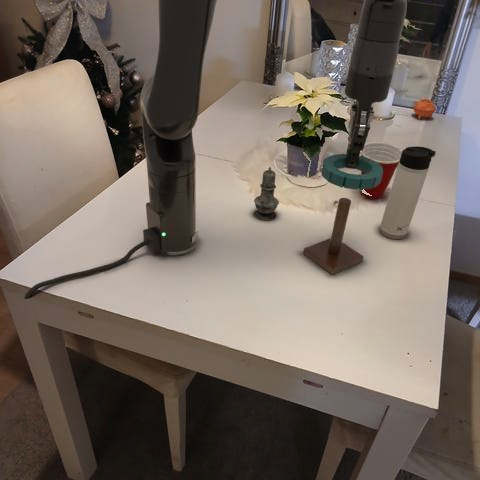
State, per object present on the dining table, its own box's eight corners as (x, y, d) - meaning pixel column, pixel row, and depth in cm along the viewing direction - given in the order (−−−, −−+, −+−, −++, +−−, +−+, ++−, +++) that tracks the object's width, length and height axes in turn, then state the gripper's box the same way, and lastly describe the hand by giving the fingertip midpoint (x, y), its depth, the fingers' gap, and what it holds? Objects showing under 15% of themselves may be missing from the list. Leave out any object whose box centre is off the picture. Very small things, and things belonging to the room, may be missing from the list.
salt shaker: (275, 222, 112) (281, 174, 104) (250, 218, 113) (254, 170, 105) (278, 210, 116) (284, 163, 108) (255, 207, 117) (259, 159, 109)
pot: (431, 122, 171) (432, 102, 167) (409, 122, 175) (410, 103, 171) (437, 116, 176) (439, 96, 172) (416, 116, 180) (417, 97, 176)
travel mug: (403, 243, 108) (431, 157, 95) (375, 233, 111) (399, 149, 98) (411, 231, 112) (439, 148, 99) (384, 222, 115) (408, 140, 102)
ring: (351, 195, 84) (353, 184, 83) (308, 170, 91) (310, 160, 89) (393, 181, 89) (396, 171, 88) (350, 159, 96) (352, 149, 95)
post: (332, 275, 97) (345, 216, 89) (302, 254, 103) (312, 196, 94) (362, 262, 102) (377, 204, 93) (332, 242, 107) (344, 186, 98)
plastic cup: (346, 199, 123) (356, 153, 115) (354, 182, 131) (364, 138, 123) (389, 208, 121) (402, 162, 113) (394, 190, 128) (407, 146, 120)
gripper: (348, 55, 87) (331, 149, 99) (350, 76, 77) (330, 177, 88) (390, 60, 86) (368, 153, 98) (397, 81, 76) (371, 182, 88)
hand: (350, 164), depth 93 cm, fingers closed on ring, 2 cm apart
